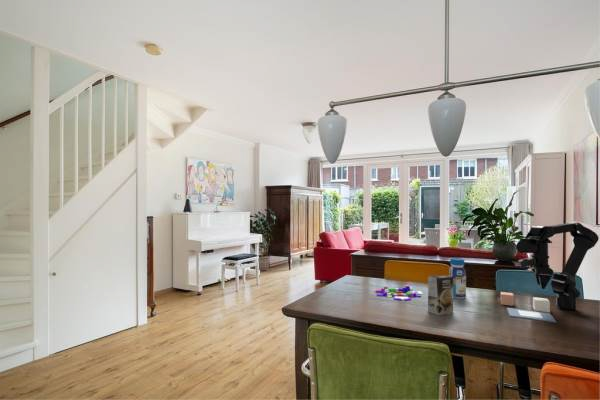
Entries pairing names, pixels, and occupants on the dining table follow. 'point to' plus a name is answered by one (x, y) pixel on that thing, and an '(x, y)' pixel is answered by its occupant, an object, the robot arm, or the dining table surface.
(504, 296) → the terracotta block
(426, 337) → the dining table surface
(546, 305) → the cream block
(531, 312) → the board
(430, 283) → the coffee box
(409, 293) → the building block set
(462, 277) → the beverage bottle
